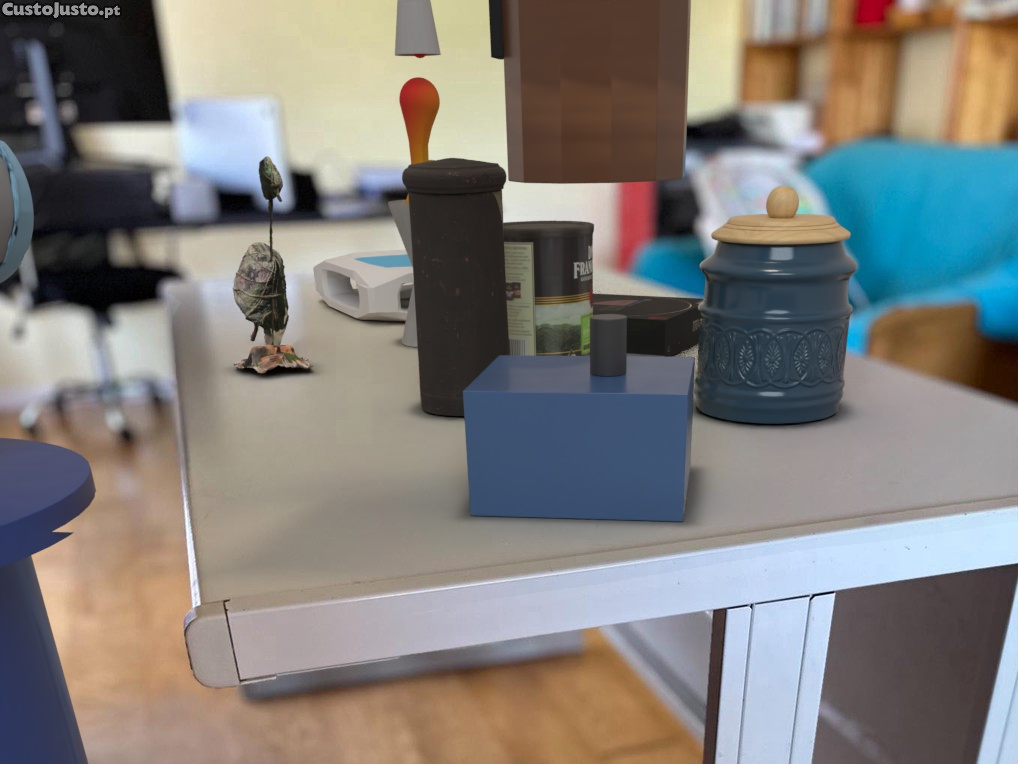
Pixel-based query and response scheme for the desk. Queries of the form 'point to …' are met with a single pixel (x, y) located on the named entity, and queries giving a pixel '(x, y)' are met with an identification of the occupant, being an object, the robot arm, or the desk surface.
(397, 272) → the white boxy piece
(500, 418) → the peg box
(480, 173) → the container
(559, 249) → the coffee can
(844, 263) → the canister
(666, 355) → the portable cd player
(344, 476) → the desk surface
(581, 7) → the brown pot
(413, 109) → the lava lamp
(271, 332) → the plant with pod
